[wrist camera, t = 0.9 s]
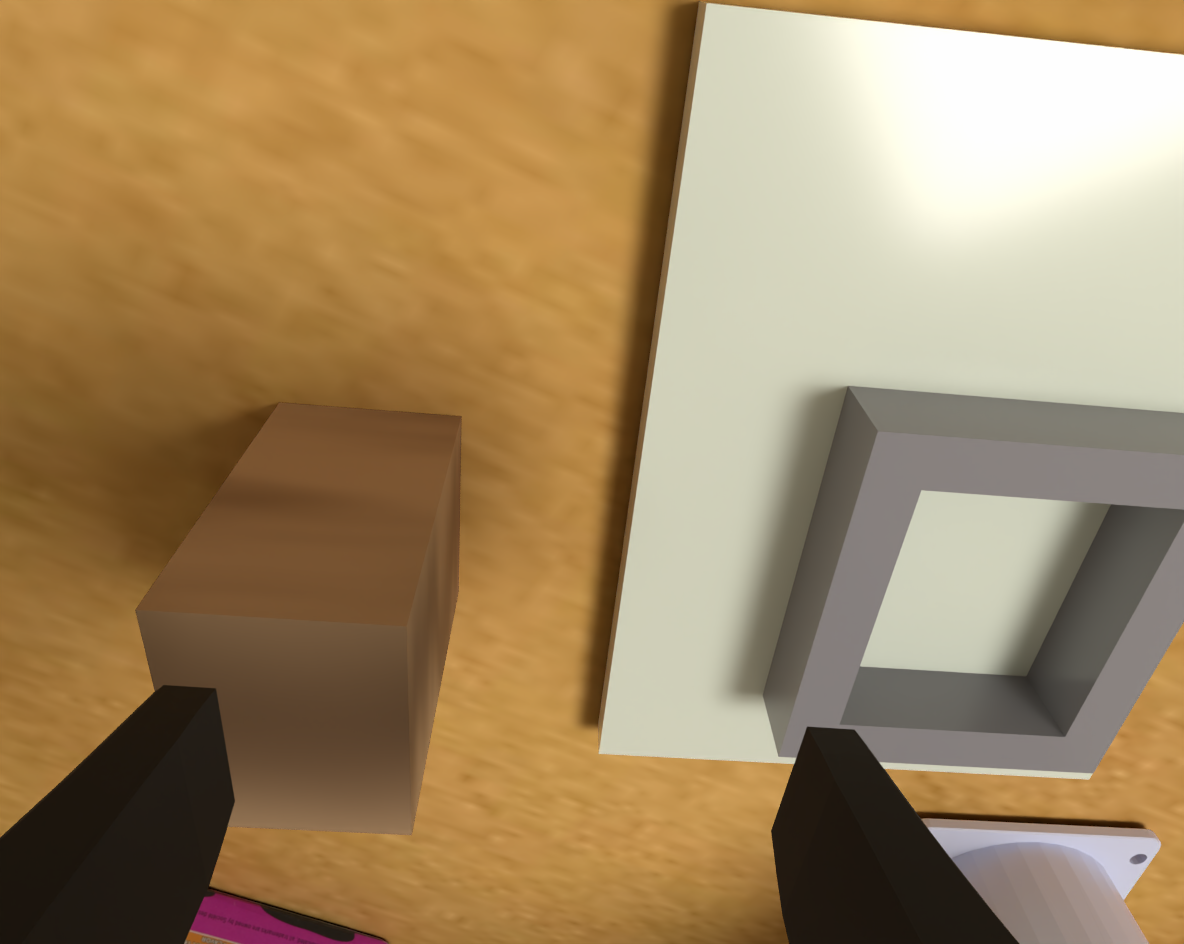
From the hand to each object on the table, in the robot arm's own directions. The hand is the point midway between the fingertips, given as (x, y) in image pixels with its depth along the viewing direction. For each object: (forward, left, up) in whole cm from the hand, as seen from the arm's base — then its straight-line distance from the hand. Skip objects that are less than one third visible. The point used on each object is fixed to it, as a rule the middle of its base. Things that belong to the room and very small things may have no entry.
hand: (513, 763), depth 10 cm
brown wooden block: (-3, +4, -10) cm, 11 cm away
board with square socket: (-1, -9, -10) cm, 13 cm away
